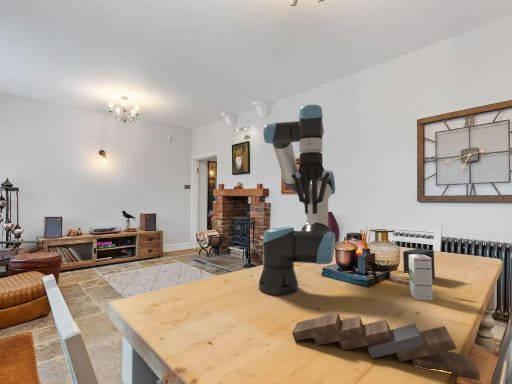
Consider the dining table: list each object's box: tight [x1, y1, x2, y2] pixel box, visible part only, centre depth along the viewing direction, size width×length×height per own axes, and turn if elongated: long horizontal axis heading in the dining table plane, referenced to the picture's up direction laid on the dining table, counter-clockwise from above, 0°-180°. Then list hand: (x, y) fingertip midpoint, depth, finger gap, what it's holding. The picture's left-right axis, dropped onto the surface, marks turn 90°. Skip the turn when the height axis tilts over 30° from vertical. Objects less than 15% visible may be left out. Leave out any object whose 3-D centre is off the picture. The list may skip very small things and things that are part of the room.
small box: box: [402, 248, 436, 279], centre depth 119 cm, size 13×7×12 cm, turn 123°
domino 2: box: [313, 315, 364, 346], centre depth 66 cm, size 2×6×11 cm
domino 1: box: [291, 312, 342, 342], centre depth 67 cm, size 2×6×11 cm
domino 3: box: [338, 319, 392, 351], centre depth 63 cm, size 2×6×11 cm
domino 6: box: [411, 351, 481, 382], centre depth 57 cm, size 2×6×11 cm
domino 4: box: [367, 323, 425, 359], centre depth 60 cm, size 2×6×11 cm
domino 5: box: [395, 325, 458, 362], centre depth 58 cm, size 2×6×11 cm
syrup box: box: [408, 254, 434, 302], centre depth 96 cm, size 6×6×14 cm
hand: (311, 223), depth 91 cm, fingers closed
